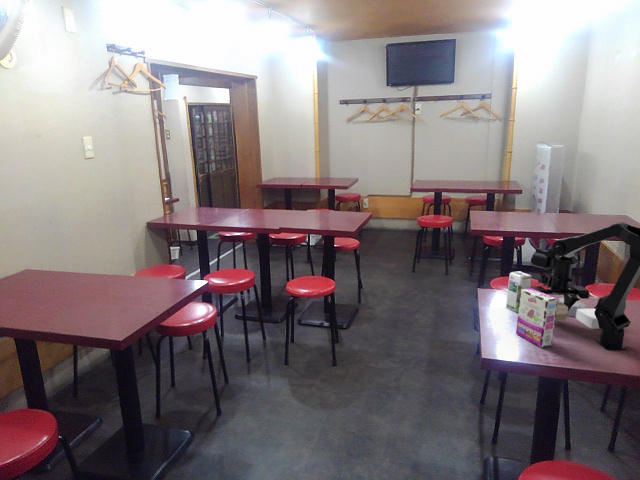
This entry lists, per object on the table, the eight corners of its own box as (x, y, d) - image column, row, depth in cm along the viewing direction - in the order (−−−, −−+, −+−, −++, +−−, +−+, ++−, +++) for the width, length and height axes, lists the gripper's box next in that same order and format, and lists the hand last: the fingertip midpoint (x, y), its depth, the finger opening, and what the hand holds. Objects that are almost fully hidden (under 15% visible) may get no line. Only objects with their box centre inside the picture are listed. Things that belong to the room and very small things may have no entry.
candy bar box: (552, 345, 146) (559, 298, 142) (541, 348, 144) (547, 300, 140) (526, 331, 156) (531, 287, 152) (515, 333, 154) (519, 289, 150)
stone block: (561, 320, 169) (590, 317, 167) (560, 308, 168) (589, 305, 166) (551, 309, 180) (578, 306, 178) (550, 298, 180) (577, 294, 177)
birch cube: (566, 320, 158) (568, 307, 157) (552, 320, 158) (553, 307, 157) (559, 314, 163) (560, 301, 162) (545, 314, 163) (546, 301, 162)
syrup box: (505, 307, 176) (508, 272, 173) (516, 305, 179) (519, 270, 175) (516, 312, 171) (520, 276, 168) (528, 310, 174) (532, 274, 170)
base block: (615, 328, 158) (617, 318, 157) (591, 329, 158) (592, 319, 157) (599, 318, 167) (600, 308, 166) (575, 318, 166) (577, 308, 165)
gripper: (575, 266, 164) (570, 305, 168) (524, 266, 165) (520, 306, 168) (593, 276, 154) (587, 318, 157) (538, 276, 154) (533, 318, 158)
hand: (556, 314), depth 160 cm, fingers closed on birch cube, 5 cm apart
